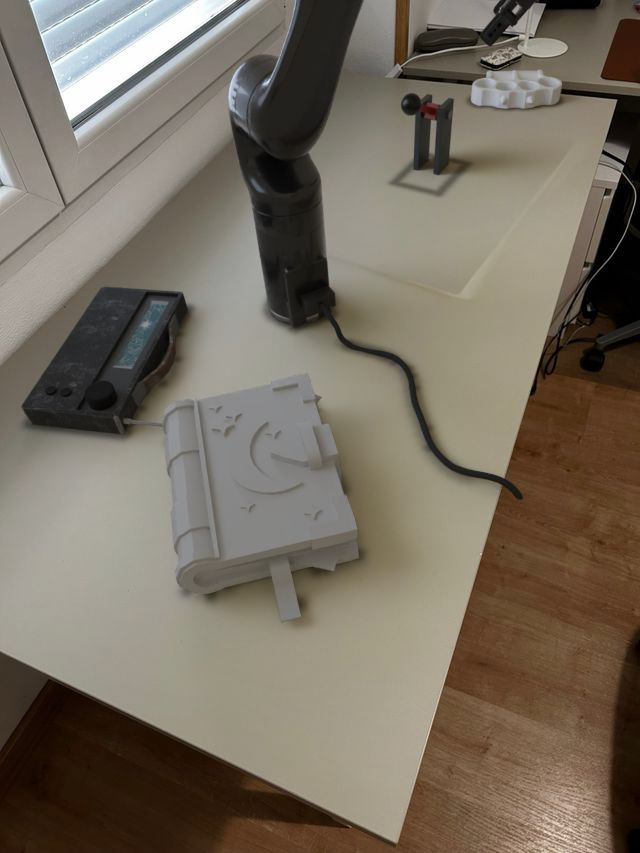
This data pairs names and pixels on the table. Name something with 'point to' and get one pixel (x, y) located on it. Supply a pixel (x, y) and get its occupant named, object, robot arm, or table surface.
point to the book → (256, 490)
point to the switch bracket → (441, 136)
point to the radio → (109, 361)
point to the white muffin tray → (516, 89)
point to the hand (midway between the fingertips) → (491, 27)
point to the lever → (418, 106)
